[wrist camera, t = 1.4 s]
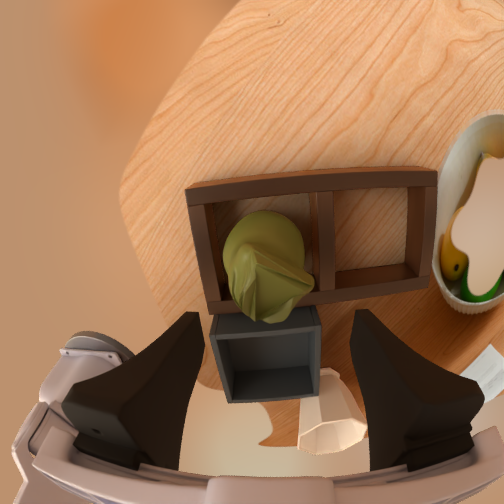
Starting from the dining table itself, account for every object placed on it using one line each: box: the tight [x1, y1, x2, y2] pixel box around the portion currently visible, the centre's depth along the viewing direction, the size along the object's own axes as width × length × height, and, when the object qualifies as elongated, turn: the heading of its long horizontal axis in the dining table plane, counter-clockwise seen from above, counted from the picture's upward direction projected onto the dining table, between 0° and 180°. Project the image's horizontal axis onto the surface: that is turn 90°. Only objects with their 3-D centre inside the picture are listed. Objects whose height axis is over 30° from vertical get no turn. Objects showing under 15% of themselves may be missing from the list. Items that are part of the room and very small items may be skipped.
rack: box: [185, 166, 438, 315], centre depth 21 cm, size 10×19×3 cm, turn 97°
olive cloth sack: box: [223, 210, 315, 324], centre depth 18 cm, size 6×5×10 cm
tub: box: [209, 305, 322, 403], centre depth 24 cm, size 8×8×5 cm
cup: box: [297, 367, 368, 455], centre depth 26 cm, size 7×10×8 cm
